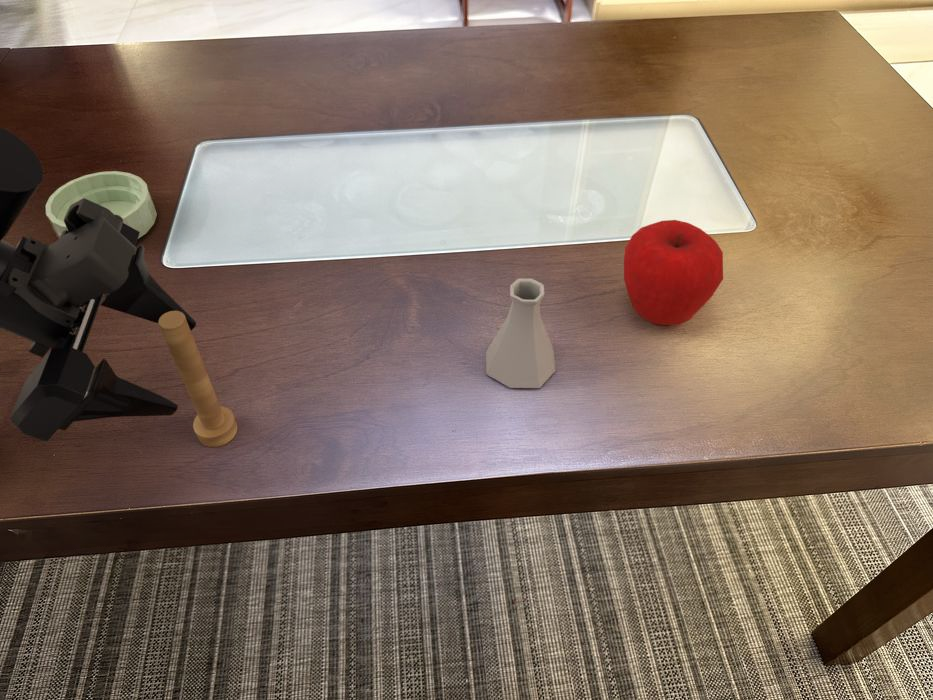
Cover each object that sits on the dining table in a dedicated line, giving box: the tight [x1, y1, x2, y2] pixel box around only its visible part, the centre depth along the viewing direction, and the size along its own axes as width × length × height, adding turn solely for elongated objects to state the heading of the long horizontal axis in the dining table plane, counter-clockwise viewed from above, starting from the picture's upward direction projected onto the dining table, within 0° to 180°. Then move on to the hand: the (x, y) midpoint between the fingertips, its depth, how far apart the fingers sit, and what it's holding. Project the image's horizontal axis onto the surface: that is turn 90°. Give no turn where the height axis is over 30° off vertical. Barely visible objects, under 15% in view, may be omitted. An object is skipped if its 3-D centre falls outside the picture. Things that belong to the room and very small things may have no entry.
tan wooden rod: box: [157, 311, 239, 448], centre depth 61 cm, size 4×4×14 cm
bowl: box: [45, 170, 158, 240], centre depth 85 cm, size 11×11×4 cm
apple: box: [623, 219, 724, 326], centre depth 73 cm, size 10×10×11 cm
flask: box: [485, 278, 556, 389], centre depth 69 cm, size 7×7×10 cm
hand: (184, 366), depth 60 cm, fingers open, 9 cm apart
